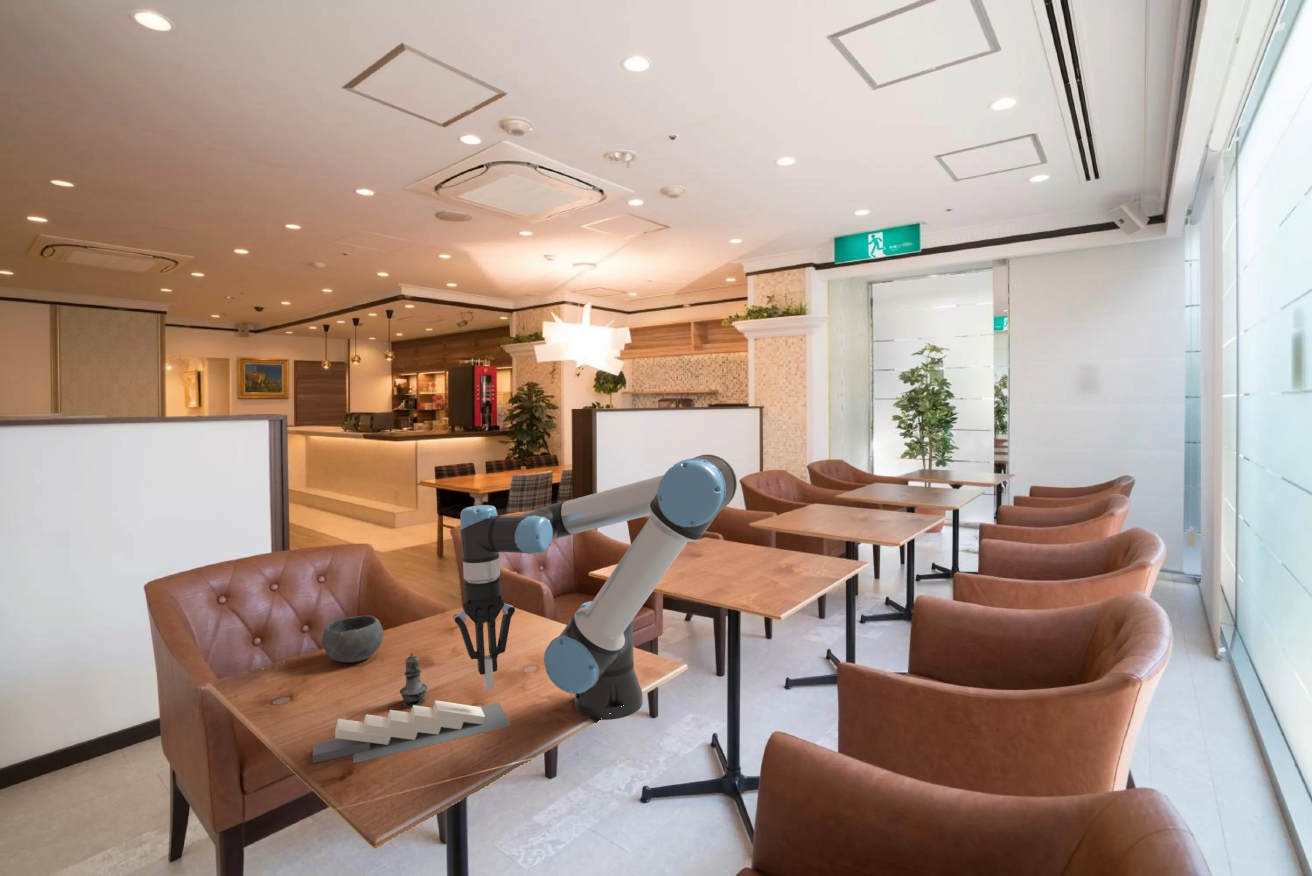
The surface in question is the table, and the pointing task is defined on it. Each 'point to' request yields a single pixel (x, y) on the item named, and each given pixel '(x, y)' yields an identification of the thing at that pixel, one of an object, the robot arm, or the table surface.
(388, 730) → the tile
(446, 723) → the tile
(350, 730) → the tile
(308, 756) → the table surface
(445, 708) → the tile
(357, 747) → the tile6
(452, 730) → the mat
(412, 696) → the grey chess piece
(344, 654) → the bowl
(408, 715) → the tile
